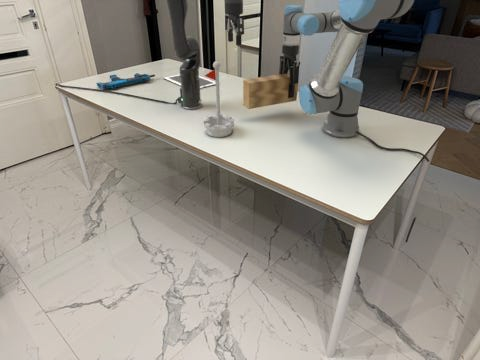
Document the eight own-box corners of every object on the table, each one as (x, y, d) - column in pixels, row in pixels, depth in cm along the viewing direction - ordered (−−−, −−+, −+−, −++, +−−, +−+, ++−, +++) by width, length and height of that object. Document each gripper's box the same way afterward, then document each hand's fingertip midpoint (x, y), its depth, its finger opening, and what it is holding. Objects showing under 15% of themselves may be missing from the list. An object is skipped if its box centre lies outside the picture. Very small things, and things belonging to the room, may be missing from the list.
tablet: (163, 78, 216) (163, 77, 215) (189, 72, 227) (189, 71, 226) (191, 90, 195) (191, 90, 195) (219, 83, 206) (219, 83, 206)
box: (290, 96, 167) (292, 72, 161) (296, 100, 163) (298, 75, 156) (243, 105, 158) (243, 79, 152) (248, 109, 154) (249, 83, 147)
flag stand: (228, 123, 156) (226, 56, 140) (238, 135, 146) (237, 63, 130) (200, 127, 152) (195, 59, 136) (209, 140, 142) (205, 67, 126)
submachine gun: (140, 68, 226) (159, 74, 209) (142, 73, 228) (160, 80, 211) (89, 77, 207) (104, 85, 190) (90, 84, 209) (106, 92, 192)
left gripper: (218, 0, 142) (220, 41, 151) (232, 3, 131) (233, 47, 140) (234, -1, 145) (235, 39, 153) (249, 1, 134) (249, 45, 142)
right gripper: (272, 41, 156) (270, 90, 168) (295, 49, 141) (291, 102, 154) (286, 39, 158) (283, 88, 171) (310, 47, 144) (304, 100, 157)
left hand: (234, 43), depth 147 cm, fingers open, 8 cm apart
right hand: (287, 95), depth 162 cm, fingers closed on box, 6 cm apart
